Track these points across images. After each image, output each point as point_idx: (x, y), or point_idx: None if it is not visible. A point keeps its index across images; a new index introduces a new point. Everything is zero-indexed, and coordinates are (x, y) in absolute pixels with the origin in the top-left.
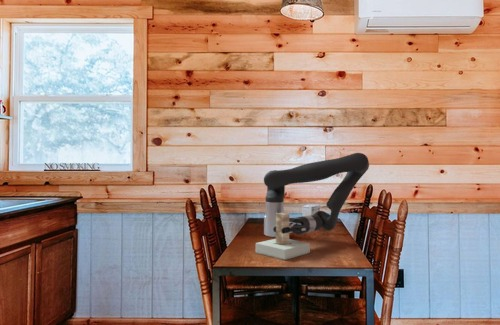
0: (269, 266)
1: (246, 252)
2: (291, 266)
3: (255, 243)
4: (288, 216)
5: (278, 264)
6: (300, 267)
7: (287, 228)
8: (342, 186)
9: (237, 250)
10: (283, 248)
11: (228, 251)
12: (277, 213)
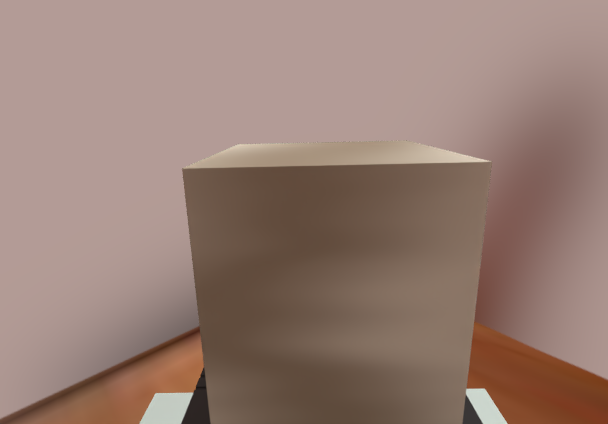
0: (196, 338)
1: (510, 417)
2: (83, 394)
3: (484, 391)
4: (202, 235)
5: (169, 376)
6: (20, 411)
7: (207, 407)
8: None
9: (594, 410)
10: (183, 414)
11: (570, 364)
12: (413, 143)
